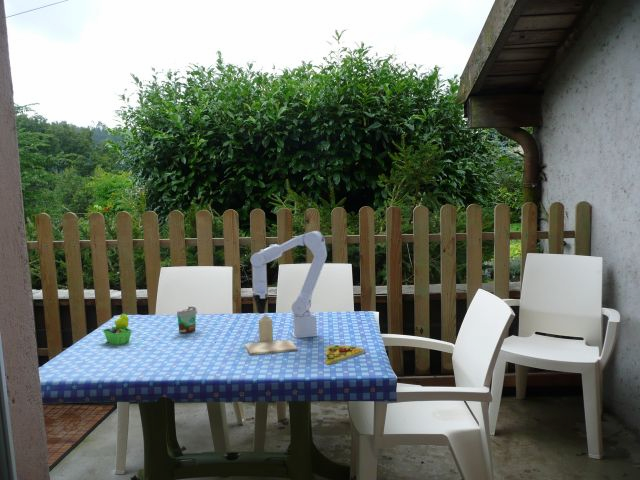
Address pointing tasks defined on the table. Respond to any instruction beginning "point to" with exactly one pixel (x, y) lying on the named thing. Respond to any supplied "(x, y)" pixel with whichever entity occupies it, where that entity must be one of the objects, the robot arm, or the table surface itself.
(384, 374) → the table surface
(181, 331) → the food container
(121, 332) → the green potted plant
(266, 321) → the candle
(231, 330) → the table surface
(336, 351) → the pizza slice
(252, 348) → the board
